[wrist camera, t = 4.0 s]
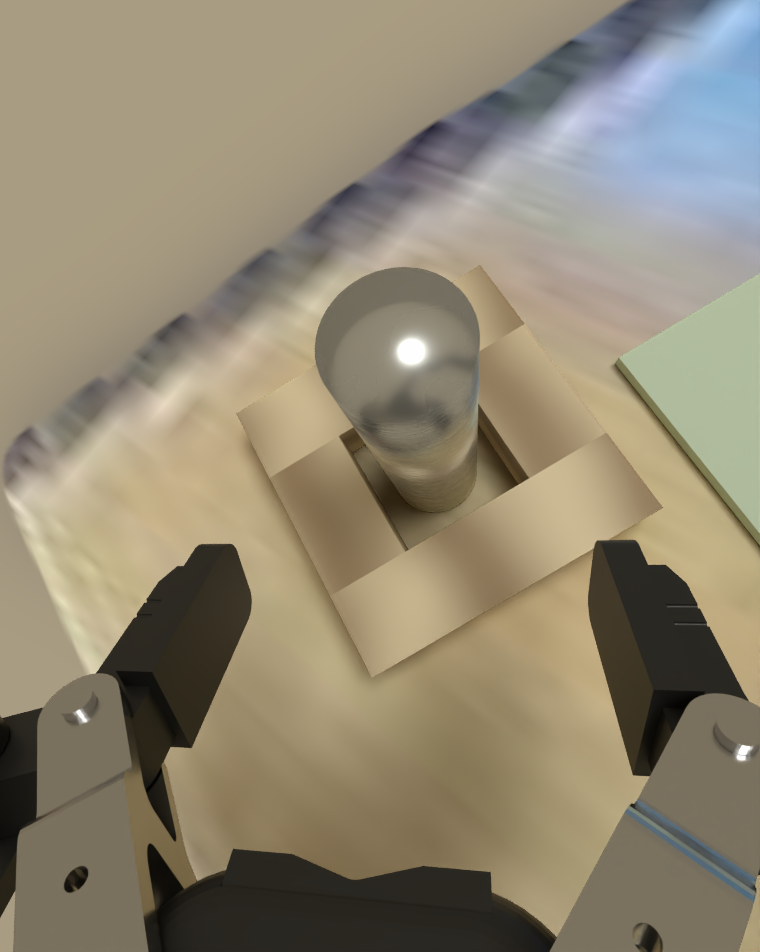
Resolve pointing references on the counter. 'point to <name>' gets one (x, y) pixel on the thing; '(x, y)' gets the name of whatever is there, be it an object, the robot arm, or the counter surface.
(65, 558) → the counter surface
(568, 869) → the counter surface
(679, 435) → the mat
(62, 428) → the counter surface
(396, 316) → the peg
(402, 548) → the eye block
